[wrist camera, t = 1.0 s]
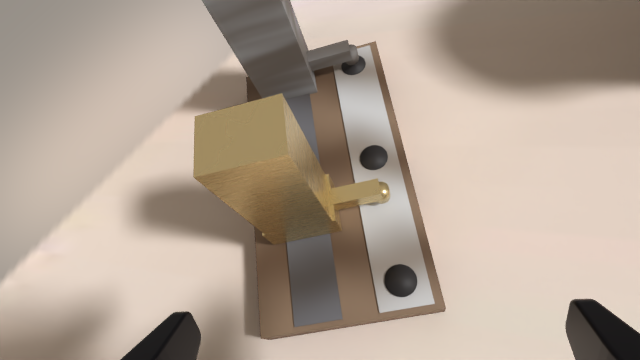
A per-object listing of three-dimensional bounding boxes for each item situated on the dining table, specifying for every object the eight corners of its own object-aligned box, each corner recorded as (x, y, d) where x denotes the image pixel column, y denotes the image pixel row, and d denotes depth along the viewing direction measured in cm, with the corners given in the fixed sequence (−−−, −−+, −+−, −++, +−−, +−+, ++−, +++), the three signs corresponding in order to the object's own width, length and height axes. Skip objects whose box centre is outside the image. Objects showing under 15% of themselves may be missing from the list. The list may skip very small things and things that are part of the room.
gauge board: (444, 311, 22) (460, 267, 12) (269, 339, 24) (154, 322, 14) (377, 55, 31) (354, -95, 21) (253, 88, 33) (176, -35, 22)
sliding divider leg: (396, 220, 23) (378, 132, 14) (274, 244, 24) (188, 178, 16) (385, 175, 25) (364, 71, 16) (270, 201, 26) (190, 117, 17)
